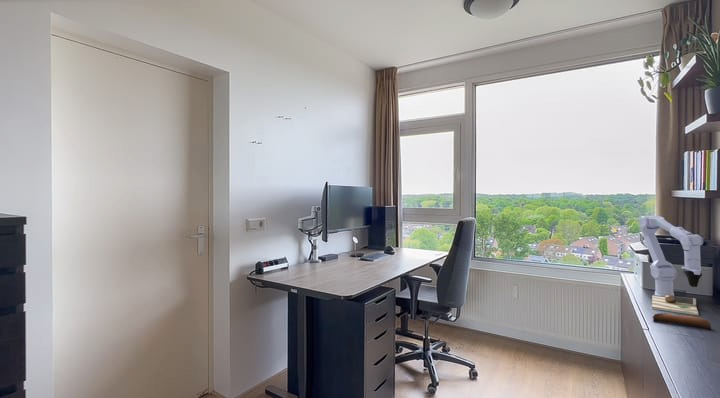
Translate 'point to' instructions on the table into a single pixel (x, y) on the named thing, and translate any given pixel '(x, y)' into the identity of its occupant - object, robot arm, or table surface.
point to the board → (673, 306)
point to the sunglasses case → (681, 320)
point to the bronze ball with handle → (680, 299)
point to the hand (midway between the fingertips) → (693, 286)
